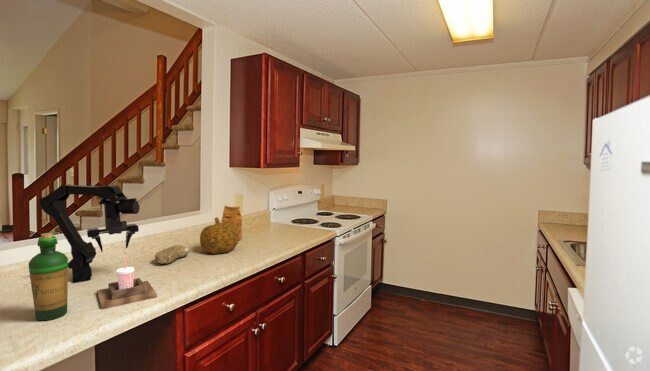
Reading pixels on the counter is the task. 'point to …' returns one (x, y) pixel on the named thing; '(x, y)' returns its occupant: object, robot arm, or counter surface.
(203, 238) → the decorative pumpkin
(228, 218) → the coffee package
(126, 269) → the beverage cup
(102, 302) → the cup holder
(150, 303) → the counter surface
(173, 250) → the tan rounded lump
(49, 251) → the bottle
